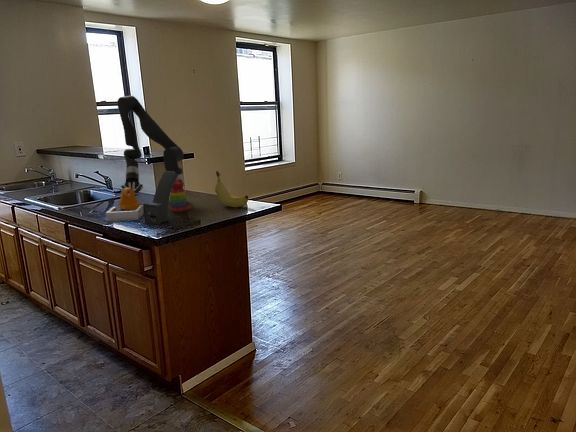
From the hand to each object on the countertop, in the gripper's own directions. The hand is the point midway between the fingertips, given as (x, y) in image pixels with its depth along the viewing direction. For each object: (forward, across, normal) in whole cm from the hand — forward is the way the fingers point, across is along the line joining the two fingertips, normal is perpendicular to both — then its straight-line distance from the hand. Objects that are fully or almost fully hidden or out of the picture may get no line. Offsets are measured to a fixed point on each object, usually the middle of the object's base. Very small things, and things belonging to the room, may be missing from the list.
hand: (132, 198), depth 262 cm
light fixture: (+33, +21, -26) cm, 47 cm away
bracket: (+23, 0, -17) cm, 28 cm away
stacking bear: (+18, +28, -11) cm, 35 cm away
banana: (+19, +58, -13) cm, 62 cm away
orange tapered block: (+8, 0, -2) cm, 9 cm away
